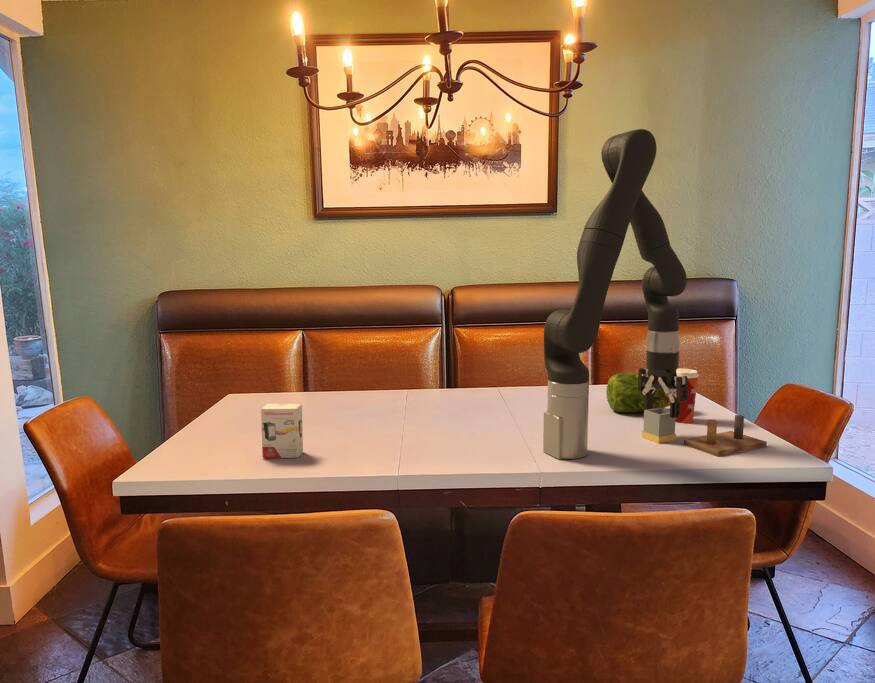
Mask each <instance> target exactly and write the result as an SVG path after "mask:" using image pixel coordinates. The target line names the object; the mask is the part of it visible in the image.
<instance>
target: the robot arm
mask: <svg viewBox="0 0 875 683" xmlns="http://www.w3.org/2000/svg"><path fill="white" fill-rule="evenodd" d="M657 149H658V148H657V141H656V138H655V136H654V134H653V133H652V132H651V131H649V130H647V129H645V128H638V129H632V130H629V131H625V132H622V133H618V134H616V135H612V136H611V137H609V138H608V139H606V141H605V142H604V144H603V145H602V147H601V155H600V156H601V161H602V163H603V167H604V170H605V172H606V174H607V177H608V178H609V180H610V182H611V185H610V188H609V189H608V191H607V193H606V194H605V196H604V197H603V199H602V200H601V201H600V202H599V204H598V205H597V206H596V207H595V208H594V210H593V211H592V212H591V215H590V216H589V218H588V220H586V223H585V225H584V227H583V231H582V234H581V237H580V240H579V243H578V246H577V251H576V264H577V273H578V286H577V291H576V295H575V298H574V302H573V304H572V306H571V308H570V309H557V310H554V311H552V312H551V314H550V315H548V317H547V319H546V321H545V324H544V327H543V360H544V366H545V367H544V368H545V370H546V372H547V404H546V405H547V411H544V413H543V437H542V438H543V440H542V441H543V443H542V444H543V446H542V451H543V452H544V453H546V454H548V455H549V456H551V457H554V458H555V459H557V460H558V459H559V460H561V459H566V460H569V459H570V460H574V459H575V460H576V459H581V458H584V457H586V456H587V455H588V443H589V442H588V439H589V438H588V437H589V436H588V433H589V401H590V400H589V395H590V391H589V390H590V386H589V385H590V371H589V368H588V367H587V366H586V365H585V364H584V362H583V361H582V359H581V357H580V354H583V353H585V352H587V351H588V350H590V349H591V347H592V346H593V345H594V344H595V341H596V340H597V338H598V334H599V329H600V325H601V322H602V317H603V311H604V306H605V302H606V297H607V294H608V291H609V288H610V285H611V281H612V278H613V275H614V272H615V267H616V266H617V265H616V264H617V263H618V260H619V257H620V255H621V254H620V253H621V251H622V248H623V246H624V241H625V239H626V235H627V231H628V229H629V225H630V226H631V229H632V232H633V236H634V238H635V243H636V245H637V248H638V252H639V254H640V258H641V259H642V260H643V261H645V262H647V263H650V264H651V265H652V267H650V268H648V269H646V271H645V273H644V275H643V277H642V281H641V287H642V288H641V289H642V293H643V298H644V302H645V306H646V310H647V313H648V317H647V319H648V320H647V335H646V347H645V348H646V354H645V359H646V360H645V366H646V367H641V368H638V371H637V372H638V373H637V374H638V388H637V389H638V391H641V392H642V393H643V395H644V408H645V409H646V410H649V409H653V395H652V394H653V392H654V391H655V389H660V390H662V391H664V392H665V394H666V395H668V396H669V398H670V400H671V403H670V406H669V411H670V417H672V418H676V417H678V416H679V415H680V403H681V402H682V401H687V400H688V378H687V376H677V373H676V370H677V369H678V368H679V366H680V333H679V332H680V330H679V328H680V327H679V326H680V320H679V319H680V311H679V309H678V308H677V307H676V306H674V305H672V304H670V302H669V298H668V297H677V296H680V295H681V294H683V293H684V291H685V289H686V287H687V283H688V279H687V278H688V277H687V273H686V270H685V268H684V266H683V264H682V262H681V260H680V259H679V257H678V255H677V254H676V252H675V251H674V249H673V247H672V245H671V243H670V239H669V235H668V233H667V228H666V225H665V223H664V220H663V217H662V216H661V214H660V213H659V211H658V210H657V208H656V207H655V206H654V204H652V202H651V200H650V199H649V198H648V197H647V196H646V194H645V193H644V191H643V189H644V188H643V187H644V185H645V184H646V181H647V179H648V177H649V175H650V172H651V171H652V168H653V166H654V163H655V160H656V156H657ZM643 382H644V385H643V386H642V384H643ZM671 388H673V389H672V390H670V389H671ZM682 392H683V396H682ZM673 394H674V395H675V397H674V395H673Z"/></svg>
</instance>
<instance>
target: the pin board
mask: <svg viewBox="0 0 875 683" xmlns="http://www.w3.org/2000/svg"><path fill="white" fill-rule="evenodd" d="M733 424H734V426H733V431H732V430H730V431H729V430H728V431H724V432H718V433H717V429H718V420H716V419H707V429H706V430H707V431H706V435H702V436H695V437H691V438H690V437H689V438H683V442H682V443H683V445H684V446H688V447H690V448H693V449H696V450H698V451H702V452H705V453H707V454H709V455H713V456H715V457H722V456H727V455H731V454H737V453H742V452H746V451H751V450H757V449H761V448H767V445H768V441H765V440H762V439H759V438H757V437H756V438H755V437H752V436H748V435H745V434H744V427H745V426H744V424H745V416H744V415H742V414H735V415H734V423H733Z"/></svg>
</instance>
